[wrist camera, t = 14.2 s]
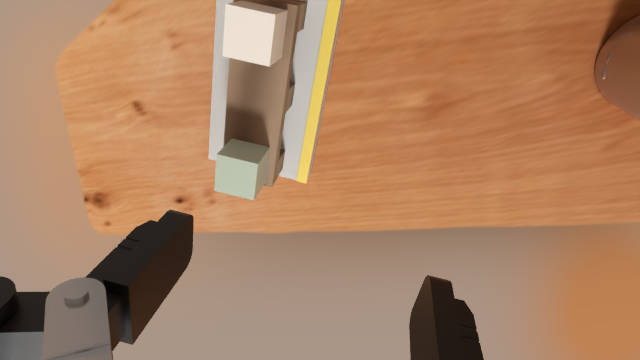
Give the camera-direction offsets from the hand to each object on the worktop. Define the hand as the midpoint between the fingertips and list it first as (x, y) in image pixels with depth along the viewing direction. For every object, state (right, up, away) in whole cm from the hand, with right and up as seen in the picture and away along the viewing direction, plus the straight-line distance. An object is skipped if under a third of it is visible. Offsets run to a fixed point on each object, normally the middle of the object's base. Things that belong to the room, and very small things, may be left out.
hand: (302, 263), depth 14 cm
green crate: (-7, +5, +28) cm, 29 cm away
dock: (-5, +14, +31) cm, 35 cm away
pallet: (-5, +13, +29) cm, 32 cm away
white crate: (-4, +16, +22) cm, 27 cm away
